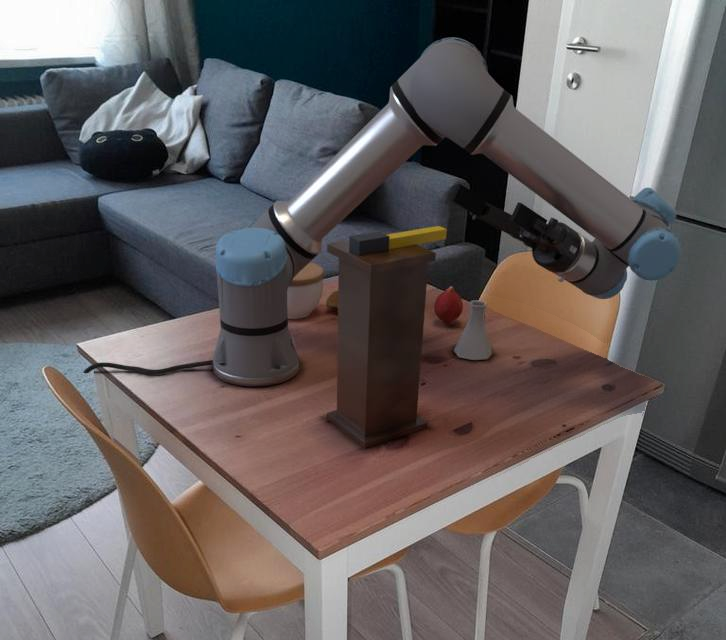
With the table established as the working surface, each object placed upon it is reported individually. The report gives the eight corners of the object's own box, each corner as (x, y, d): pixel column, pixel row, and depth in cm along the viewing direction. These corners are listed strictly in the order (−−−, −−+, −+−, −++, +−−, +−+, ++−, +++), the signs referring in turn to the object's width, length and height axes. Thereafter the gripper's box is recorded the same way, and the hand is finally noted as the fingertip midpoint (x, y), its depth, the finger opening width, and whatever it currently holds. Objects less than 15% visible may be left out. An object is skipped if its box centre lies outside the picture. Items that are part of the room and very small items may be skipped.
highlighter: (436, 235, 118) (437, 221, 117) (447, 240, 116) (448, 226, 115) (348, 250, 110) (349, 236, 109) (359, 255, 108) (359, 241, 107)
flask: (491, 347, 154) (497, 297, 149) (492, 362, 148) (499, 311, 143) (453, 344, 155) (458, 295, 149) (453, 360, 149) (458, 309, 143)
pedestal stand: (386, 400, 134) (394, 231, 119) (427, 428, 127) (441, 251, 111) (326, 418, 128) (326, 243, 113) (365, 448, 121) (371, 265, 105)
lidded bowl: (336, 313, 166) (336, 261, 160) (289, 329, 159) (288, 274, 153) (297, 297, 174) (296, 247, 168) (250, 311, 166) (248, 258, 160)
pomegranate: (427, 324, 163) (430, 286, 158) (441, 316, 167) (444, 279, 162) (452, 331, 160) (456, 293, 156) (466, 323, 164) (470, 285, 160)
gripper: (608, 294, 125) (530, 246, 111) (502, 253, 143) (423, 207, 129) (632, 249, 124) (556, 194, 109) (521, 213, 141) (443, 162, 127)
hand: (484, 201), depth 119 cm, fingers open, 13 cm apart
